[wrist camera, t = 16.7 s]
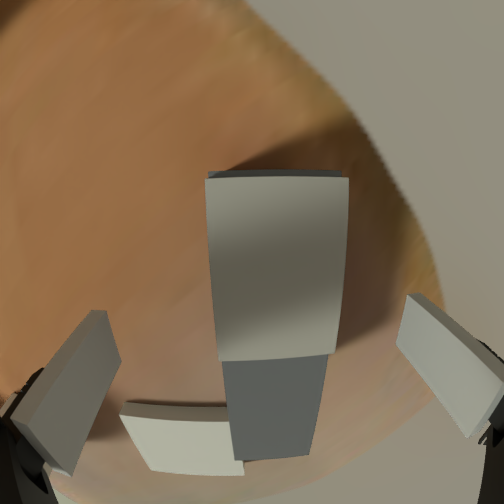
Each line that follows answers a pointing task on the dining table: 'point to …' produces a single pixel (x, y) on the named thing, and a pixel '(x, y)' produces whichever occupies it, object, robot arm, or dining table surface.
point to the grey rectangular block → (275, 299)
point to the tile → (182, 438)
